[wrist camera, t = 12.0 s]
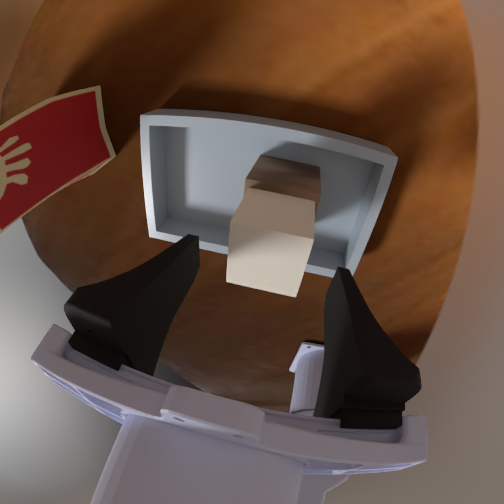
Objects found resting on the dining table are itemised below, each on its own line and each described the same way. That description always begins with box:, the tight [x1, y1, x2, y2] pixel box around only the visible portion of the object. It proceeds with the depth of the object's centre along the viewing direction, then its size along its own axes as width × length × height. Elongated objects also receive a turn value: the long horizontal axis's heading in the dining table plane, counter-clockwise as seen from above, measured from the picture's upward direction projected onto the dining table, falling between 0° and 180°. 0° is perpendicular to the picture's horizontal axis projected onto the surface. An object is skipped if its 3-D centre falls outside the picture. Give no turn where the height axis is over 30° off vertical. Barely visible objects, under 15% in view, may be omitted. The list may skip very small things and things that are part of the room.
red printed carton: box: [0, 85, 116, 233], centre depth 13 cm, size 9×9×20 cm
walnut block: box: [243, 155, 321, 215], centre depth 19 cm, size 4×6×5 cm
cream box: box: [226, 188, 315, 297], centre depth 15 cm, size 4×4×4 cm
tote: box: [140, 109, 398, 277], centre depth 20 cm, size 18×11×3 cm, turn 84°
